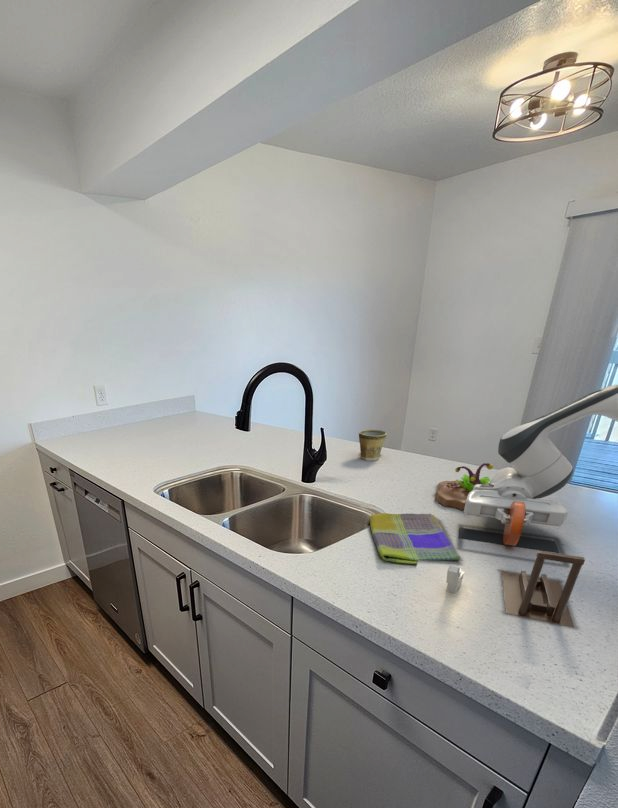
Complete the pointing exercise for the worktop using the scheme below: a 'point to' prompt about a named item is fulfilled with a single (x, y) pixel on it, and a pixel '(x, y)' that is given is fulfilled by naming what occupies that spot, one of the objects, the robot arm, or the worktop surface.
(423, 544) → the dish towel
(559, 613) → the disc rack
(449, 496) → the plant
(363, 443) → the ceramic cup
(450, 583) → the lighter
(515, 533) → the disc
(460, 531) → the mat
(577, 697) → the worktop surface
